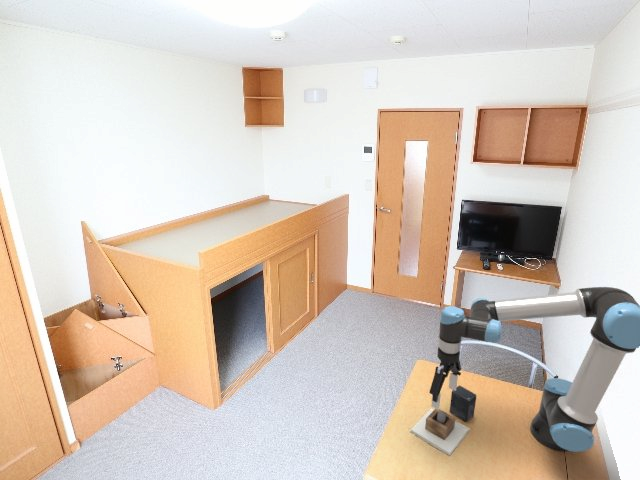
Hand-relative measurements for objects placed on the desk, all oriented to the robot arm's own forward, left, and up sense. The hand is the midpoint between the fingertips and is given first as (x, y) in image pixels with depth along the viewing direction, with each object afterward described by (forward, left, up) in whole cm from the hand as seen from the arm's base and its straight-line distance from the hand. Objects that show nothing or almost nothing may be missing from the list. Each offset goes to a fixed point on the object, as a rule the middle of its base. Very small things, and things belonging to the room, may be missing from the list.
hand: (444, 397), depth 144 cm
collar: (0, 0, -15) cm, 15 cm away
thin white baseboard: (0, 0, -16) cm, 16 cm away
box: (-2, -15, -16) cm, 22 cm away
